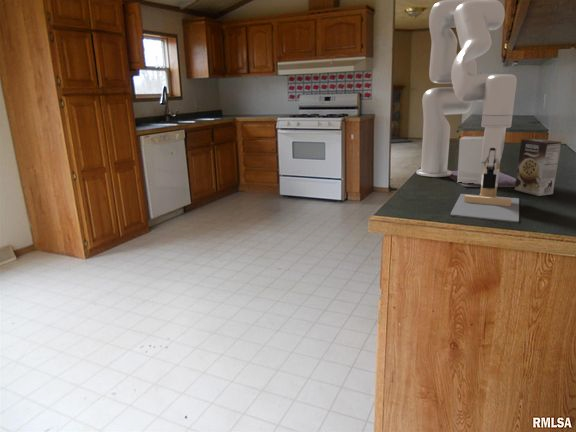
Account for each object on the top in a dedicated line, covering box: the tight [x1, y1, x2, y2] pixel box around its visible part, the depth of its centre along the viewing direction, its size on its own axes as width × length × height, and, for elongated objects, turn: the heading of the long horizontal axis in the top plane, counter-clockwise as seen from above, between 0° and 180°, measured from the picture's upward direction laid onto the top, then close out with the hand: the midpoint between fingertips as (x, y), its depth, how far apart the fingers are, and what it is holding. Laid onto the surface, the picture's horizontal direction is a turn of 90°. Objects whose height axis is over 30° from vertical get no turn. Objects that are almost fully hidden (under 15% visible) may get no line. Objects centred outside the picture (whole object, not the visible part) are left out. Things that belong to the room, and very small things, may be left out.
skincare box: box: [457, 135, 484, 185], centre depth 148 cm, size 8×7×16 cm
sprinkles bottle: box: [479, 156, 502, 197], centre depth 124 cm, size 5×5×14 cm
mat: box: [449, 193, 520, 223], centre depth 120 cm, size 24×16×2 cm, turn 153°
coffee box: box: [514, 138, 562, 197], centre depth 133 cm, size 9×6×16 cm
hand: (489, 185), depth 125 cm, fingers closed on sprinkles bottle, 4 cm apart
